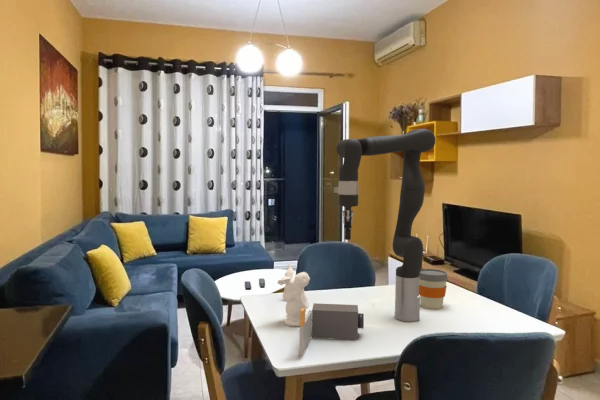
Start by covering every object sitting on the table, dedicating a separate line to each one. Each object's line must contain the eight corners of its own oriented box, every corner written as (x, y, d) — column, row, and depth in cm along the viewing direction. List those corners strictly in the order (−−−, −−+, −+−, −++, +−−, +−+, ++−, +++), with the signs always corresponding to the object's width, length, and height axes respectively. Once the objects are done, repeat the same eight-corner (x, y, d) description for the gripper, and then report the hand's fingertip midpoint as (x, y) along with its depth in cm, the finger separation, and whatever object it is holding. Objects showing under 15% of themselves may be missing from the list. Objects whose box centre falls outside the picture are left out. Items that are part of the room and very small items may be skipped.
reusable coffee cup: (414, 308, 195) (415, 273, 194) (418, 300, 206) (419, 267, 205) (445, 311, 190) (446, 276, 189) (447, 303, 202) (448, 270, 201)
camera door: (302, 355, 142) (302, 311, 141) (299, 355, 142) (299, 311, 142) (311, 335, 159) (312, 296, 158) (309, 335, 159) (309, 296, 158)
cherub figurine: (312, 325, 173) (314, 268, 171) (284, 331, 166) (285, 272, 164) (295, 316, 183) (296, 262, 181) (268, 321, 176) (269, 265, 174)
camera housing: (362, 332, 166) (363, 305, 165) (363, 340, 158) (364, 312, 157) (313, 330, 168) (313, 303, 167) (311, 338, 160) (312, 310, 159)
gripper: (358, 194, 162) (358, 242, 163) (358, 192, 175) (357, 237, 176) (337, 194, 163) (337, 242, 164) (338, 192, 176) (337, 236, 177)
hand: (347, 239), depth 170 cm, fingers closed
